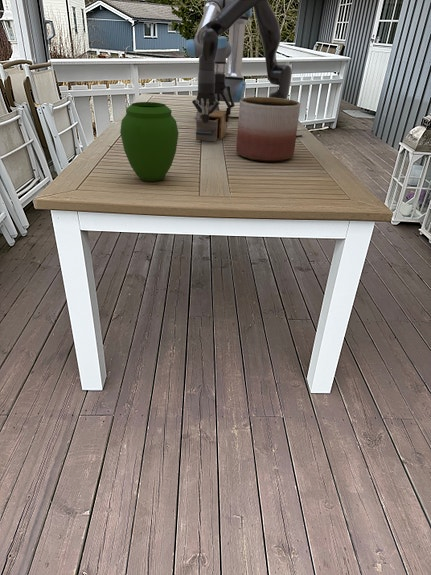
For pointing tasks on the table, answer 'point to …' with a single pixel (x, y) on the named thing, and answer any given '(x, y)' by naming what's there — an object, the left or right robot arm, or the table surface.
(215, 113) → the tan rectangular mottled block
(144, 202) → the table surface
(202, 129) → the drawer
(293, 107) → the planter
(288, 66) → the right robot arm
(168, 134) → the vase
